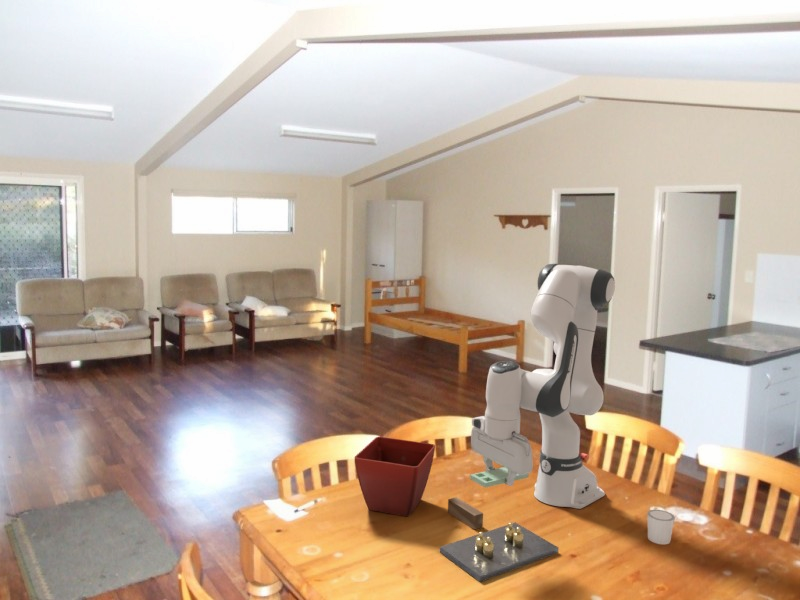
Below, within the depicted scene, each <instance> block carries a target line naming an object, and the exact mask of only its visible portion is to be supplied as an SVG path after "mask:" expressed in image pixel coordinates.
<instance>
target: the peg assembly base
mask: <svg viewBox="0 0 800 600" xmlns="http://www.w3.org/2000/svg"><path fill="white" fill-rule="evenodd" d="M439 553H440V554H441V555H442V556H444V557H445V558H447V559H448V560H449V561H451V562H452V563H454V564H455V565H456V566H458V567H459V568H460V569H461V570H462V571H464V572H466V573H468V575H470V576H471V577H472V578H473V579H475V580H477V581H478V582H480V583H482V582H485V581H487V580H489V579H491V578H494V577H497V576H500V575H502V574H505V573H507V572H510V571H513V570H515V569H519V568H521V567H524V566H527V565H530V564H532V563H534V562H537V561H540V560H542V559H543V560H544V559H545V558H548V557H550V556H551V557H552V556H554V555H556V554H559V547H558V546H556V545H555V544H553V543H551V542H550V541H548V540H546V539H545V538H543V537H541V536H540V535H537V534H536V533H535V532H533V531H532V530H529V529H528V528H526V527H524V526H522V525H521V524H519V523H517V522H510V521H508V524H507V525H504V526H501V527H498V528H494V529H491V530H488V531H484V532H483V531H479V532H478V534H475V535H472V536H469V537H466V538H462V539H460V540H456V541H453V542H451V543H447V544H444V545H441V546H439Z"/></svg>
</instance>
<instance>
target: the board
mask: <svg viewBox="0 0 800 600" xmlns="http://www.w3.org/2000/svg"><path fill="white" fill-rule="evenodd" d="M529 474H530V473H529ZM529 474H525V475H519V474H517V475H516V477H515V478H514V482H515V481H520V480H523V479H527V478H529ZM508 475H509V473H508V469H507V468H505V467H503V466H502V467H498V468H495V469H493V470H488V471H486V470H485V471H479V472H476V473H472V474H470V475H469V480H471V481H473V482H474V483H475V484H478V485H480V486H481V487H483V488H485V489H486V488H490V487H494V486H498V485H502V484H505V477H508Z"/></svg>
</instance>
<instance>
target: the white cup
mask: <svg viewBox="0 0 800 600" xmlns="http://www.w3.org/2000/svg"><path fill="white" fill-rule="evenodd" d="M646 518H647V538H648V540H649V541H650V542H652V543H654V544H657V545H668V544H670V543H671V540H672V533H673V529H674V523H675V515H674V514H673V513H672V512H669V511H666V510H663V509H651V510H648V511H647V517H646Z"/></svg>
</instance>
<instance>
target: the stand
mask: <svg viewBox="0 0 800 600" xmlns="http://www.w3.org/2000/svg"><path fill="white" fill-rule="evenodd" d="M447 513H448V514H450V515H451V516H452V517H454V518H455V519H457V520H459V521H461V522H462V524H463V523H464V524H465V525H467V526H468V527H470V528H471V529H473V530H477V529H480V528H483V526H484V525H483V524H484V522H483V521H484V512H482V511H480V510H479V509H477V508H476V507H474V506H472V505H470V504H469V503H467V502H466V501H464V500H462V499H461V498H460V497H458V496H455V497H451V498H448V499H447Z"/></svg>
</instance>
